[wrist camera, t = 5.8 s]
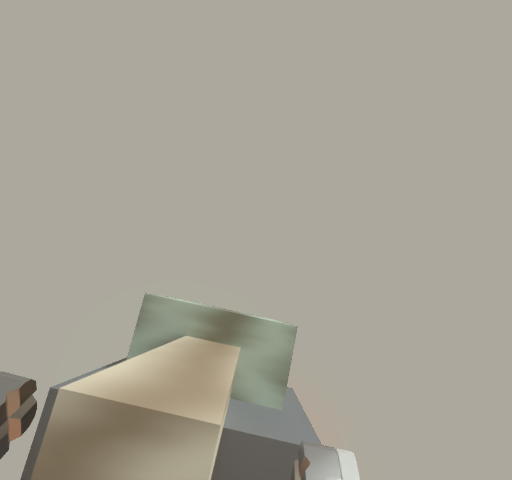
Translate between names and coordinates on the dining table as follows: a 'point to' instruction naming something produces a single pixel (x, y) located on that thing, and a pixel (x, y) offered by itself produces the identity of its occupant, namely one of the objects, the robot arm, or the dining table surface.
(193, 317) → the mallet
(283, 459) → the stand
